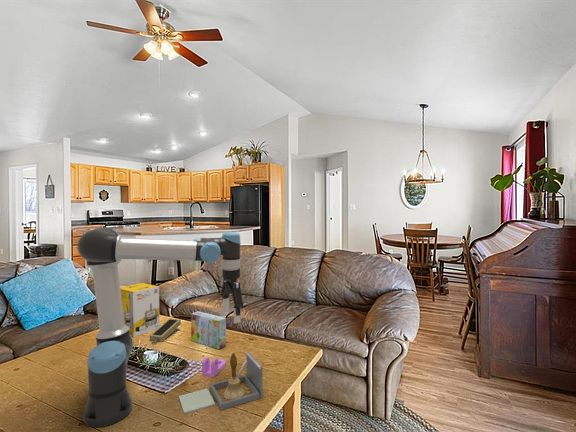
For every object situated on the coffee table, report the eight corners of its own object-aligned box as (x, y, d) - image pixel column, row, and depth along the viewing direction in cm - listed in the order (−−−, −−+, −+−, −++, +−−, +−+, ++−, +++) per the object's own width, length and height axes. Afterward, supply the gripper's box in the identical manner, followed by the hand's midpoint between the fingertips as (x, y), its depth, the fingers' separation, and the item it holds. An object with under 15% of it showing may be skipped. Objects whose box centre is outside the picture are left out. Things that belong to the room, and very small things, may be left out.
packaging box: (133, 337, 182) (133, 292, 181) (117, 331, 190) (116, 288, 189) (159, 328, 195) (159, 286, 194) (143, 322, 204) (142, 282, 203)
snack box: (226, 346, 171) (226, 317, 170) (219, 350, 166) (219, 320, 165) (198, 337, 182) (198, 310, 181) (190, 340, 177) (190, 313, 177)
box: (182, 326, 194) (181, 318, 193) (159, 349, 172) (158, 340, 171) (169, 325, 196) (168, 317, 195) (146, 348, 174) (144, 339, 173)
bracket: (213, 377, 140) (213, 361, 140) (202, 375, 142) (202, 359, 142) (227, 363, 153) (227, 348, 153) (217, 361, 154) (216, 346, 154)
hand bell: (235, 402, 122) (235, 360, 122) (218, 395, 127) (218, 355, 126) (249, 392, 129) (249, 352, 129) (233, 385, 134) (233, 347, 133)
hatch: (220, 410, 118) (220, 377, 117) (209, 389, 131) (209, 359, 131) (262, 397, 126) (262, 366, 125) (248, 379, 139) (248, 351, 138)
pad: (184, 413, 116) (184, 412, 116) (178, 397, 125) (178, 396, 125) (215, 404, 121) (215, 403, 121) (207, 389, 131) (207, 388, 131)
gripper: (251, 273, 132) (251, 325, 133) (229, 263, 154) (229, 308, 154) (233, 275, 128) (233, 328, 129) (213, 264, 150) (213, 310, 151)
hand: (231, 317), depth 142 cm, fingers open, 13 cm apart
